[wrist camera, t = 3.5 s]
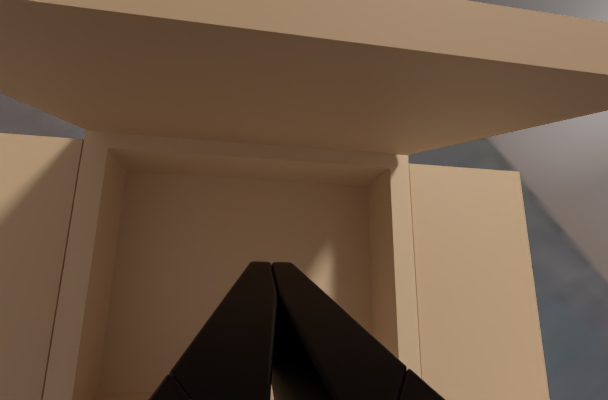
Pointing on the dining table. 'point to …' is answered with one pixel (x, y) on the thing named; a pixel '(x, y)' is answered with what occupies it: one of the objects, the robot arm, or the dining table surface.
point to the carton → (254, 259)
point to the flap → (303, 69)
